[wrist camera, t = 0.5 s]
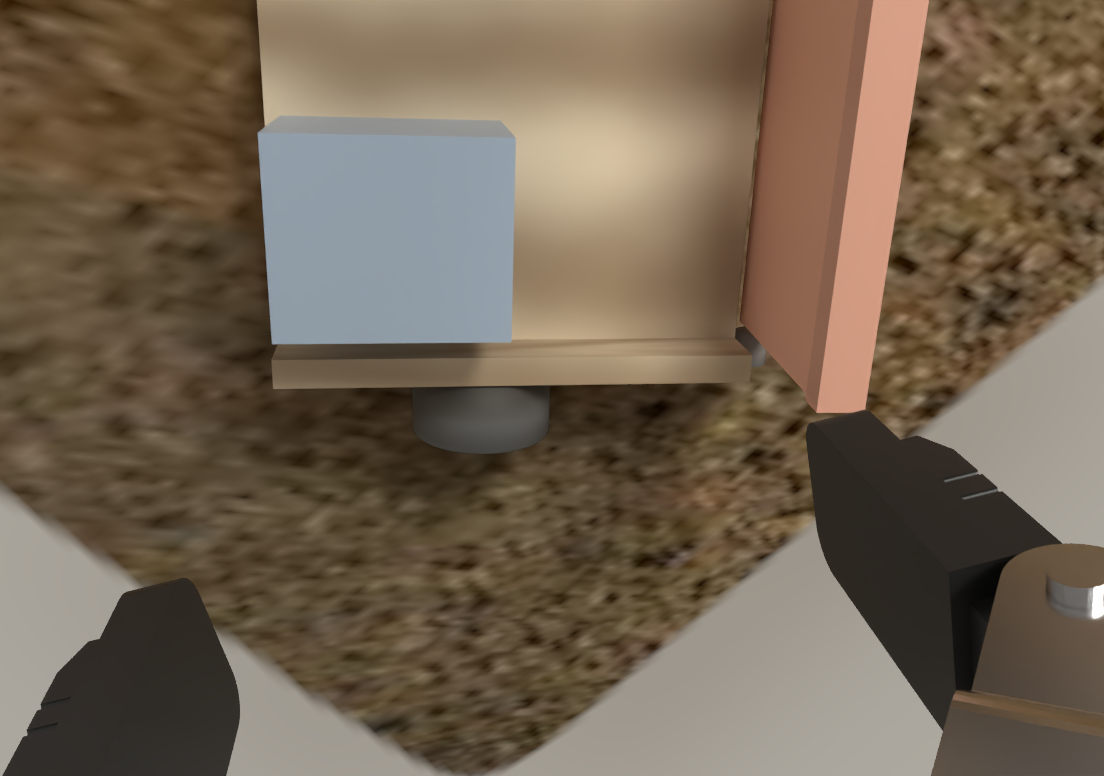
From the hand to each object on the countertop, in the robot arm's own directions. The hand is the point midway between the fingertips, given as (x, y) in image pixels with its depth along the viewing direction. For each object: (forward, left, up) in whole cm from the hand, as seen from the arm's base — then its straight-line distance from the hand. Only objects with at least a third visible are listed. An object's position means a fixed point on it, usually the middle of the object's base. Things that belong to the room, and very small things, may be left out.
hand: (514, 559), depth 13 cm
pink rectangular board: (-9, +8, -23) cm, 26 cm away
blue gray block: (0, -2, -22) cm, 22 cm away
